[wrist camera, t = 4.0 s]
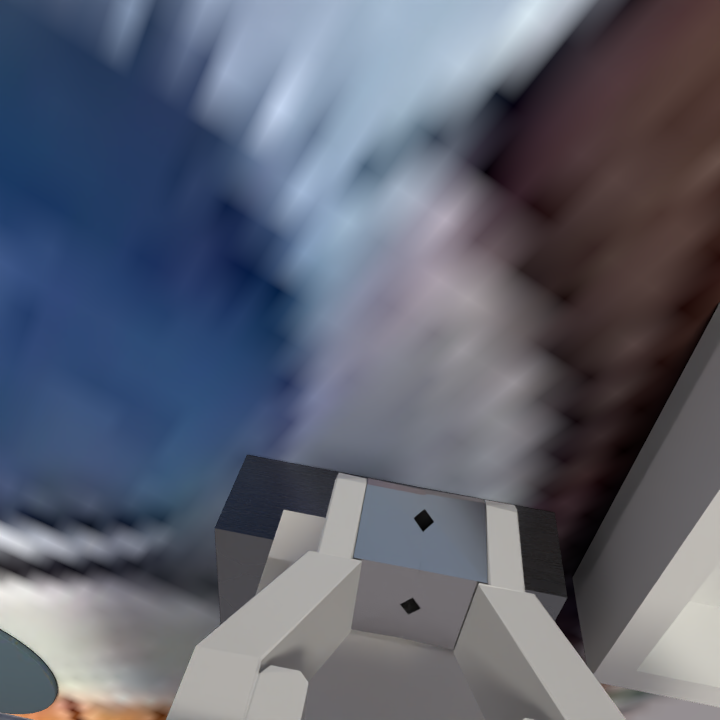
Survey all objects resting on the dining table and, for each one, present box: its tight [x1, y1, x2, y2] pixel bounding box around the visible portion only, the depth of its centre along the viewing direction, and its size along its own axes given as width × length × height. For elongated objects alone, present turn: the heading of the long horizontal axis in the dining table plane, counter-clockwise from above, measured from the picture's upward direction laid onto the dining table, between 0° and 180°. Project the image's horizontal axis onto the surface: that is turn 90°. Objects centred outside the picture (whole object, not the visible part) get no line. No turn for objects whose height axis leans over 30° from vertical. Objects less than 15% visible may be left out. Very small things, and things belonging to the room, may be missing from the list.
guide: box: [215, 455, 567, 624], centre depth 24 cm, size 21×10×3 cm, turn 174°
